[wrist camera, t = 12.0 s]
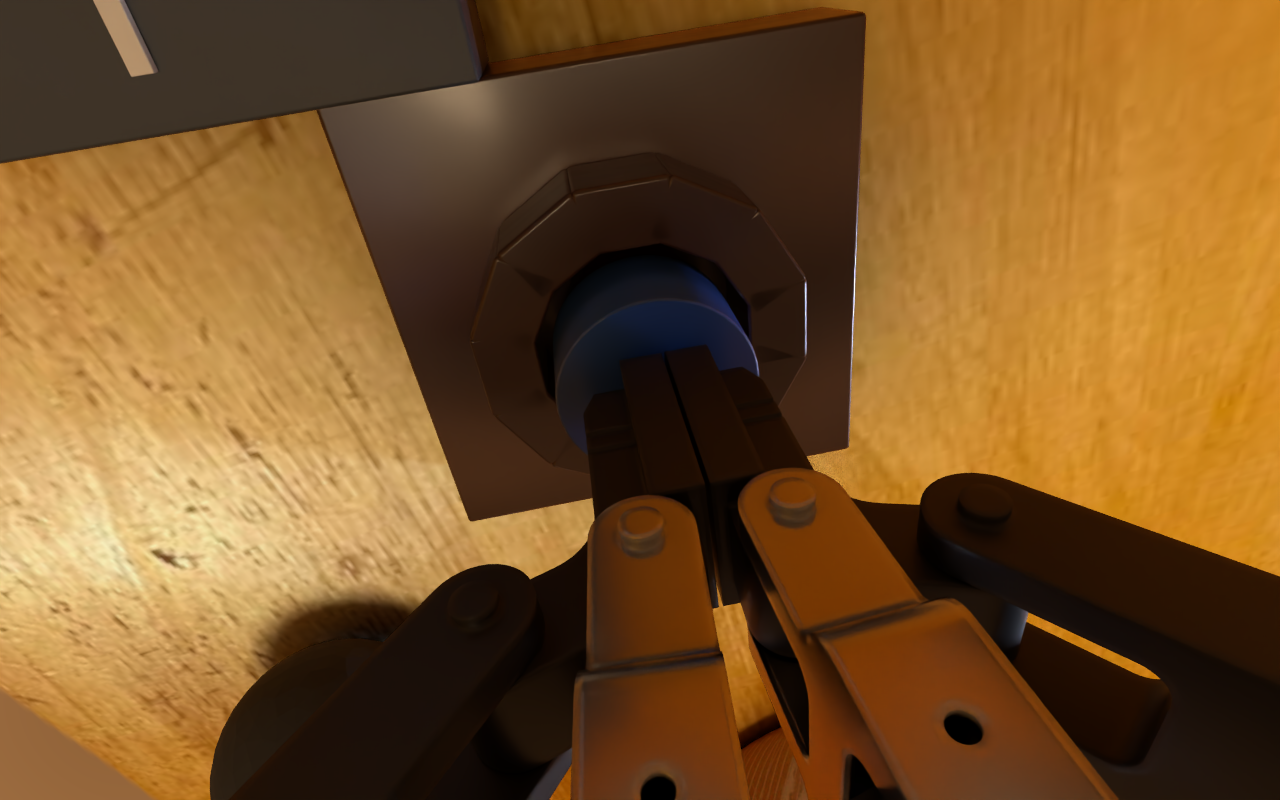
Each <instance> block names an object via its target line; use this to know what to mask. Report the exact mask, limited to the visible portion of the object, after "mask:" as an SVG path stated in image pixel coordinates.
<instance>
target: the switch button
mask: <svg viewBox="0 0 1280 800" xmlns="http://www.w3.org/2000/svg"><path fill="white" fill-rule="evenodd" d="M703 344H706V345H707V346H708V348H709V350H710V352H711V354H712V357H713V359H714V361H715V363H716V365H717V367H718V370H719V371H721V370H726V369H731V368H737V367H744V368H745V369H747V370H748V371H750V372H752V373H753V374H755V375H756V376H758V377H759V368H758V362H757V358H756V355H755V351H754V349H753V347H752V345H751V343H750V341H749V339H748V337H747V335H746V334H745V332H744V330H743V329H742V327H741V325H740V324H739V322H738V320H737V319H736V317H735V315H734V313H733V312H732V310H731V308H730V307H729V305H728V303H727V302H726V300H725V298H724V297H723V295H722V293H721V292H720V290H719V289H718V287H717V286H716V285H715V284H714V283H713V282H712V281H711V279H710V278H709V277H707V276H706V275H705V274H704V273H702V272H701V271H700V270H698V269H696V268H695V267H693V266H692V265H690V264H687V263H685V262H683V261H680V260H677V259H673V258H670V257H664V256H657V255H641V256H633V257H628V258H624V259H619V260H616V261H614V262H611V263H609V264H606V265H604V266H602V267H601V268H599V269H597V270H595V271H594V272H592V273H591V274H589V275H588V276H587V277H585V278H584V279H583V280H582V281H581V282H580V283H579V284H578V285H577V286H576V287H575V288H574V289H573V290H572V291H571V293H570V294H569V295H568V297H567V298H566V300H565V301H564V303H563V305H562V307H561V309H560V311H559V313H558V315H557V319H556V322H555V326H554V332H553V359H554V377H555V396H556V405H557V411H558V414H559V418H560V421H561V423H562V425H563V427H564V429H565V431H566V433H567V434H568V436H569V437H570V438H571V440H572V441H573V442H574V443H575V445H576V446H577V447H578V448H579V449H580V450H581V451H583V452H584V453H585V454H586V455H588V451H587V442H586V433H585V424H584V415H583V414H584V412H585V410H586V408H587V406H588V404H589V403H590V401H591V399H592V397H593V395H594V394H599V393H605V392H610V391H615V390H621V389H624V386H623V381H622V375H621V369H620V363H619V360H624V359H629V358H634V357H640V356H645V355H650V354H656V353H661V354H662V357H663V360H664V352H666V351H671V350H676V349H682V348H687V347H692V346H698V345H703Z"/></svg>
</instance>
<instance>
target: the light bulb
mask: <svg viewBox="0 0 1280 800" xmlns="http://www.w3.org/2000/svg"><path fill="white" fill-rule="evenodd" d="M382 643H383V642H380V641H374V640H368V639H362V638H360V639H338V640H333V641H328V642H324V643H320V644H317V645H313V646H310V647H308V648H306V649H303V650H301V651H299V652H296V653H295V654H293V655H291V656H289V657H287V658H286V659H284V660H283V661H281V662H280V663H278V664H277V665H276V666H274V667H273V668H272V669H270V670H269V671H268V672H266V673H265V674H264V675H262V676H261V677H260V679H259V680H258V681H257V682H256V683H255V684H254V685H253V686H252V687H251V688H250V689H249V690H248V691H247V692H246V694H245V695H244V696H243V698H242V699H241V700H240V702H239V703H238V704H237V706H236V707H235V708H234V710H233V711H232V713H231V715H230V717H229V719H228V721H227V722H226V724H225V726H224V728H223V730H222V733H221V735H220V738H219V741H218V743H217V746H216V749H215V754H214V759H213V764H212V769H211V775H210V797H211V800H229V799H230V798H231V797H232V796H233V795H234V794H235V793H236V791H237V790H238V789H239V788H240V787H241V786H242V785H243V784H244V783H245V782H246V781H247V780H248V779H249V778H250V777H251V776H252V775H253V774H254V773H255V772H256V771H257V770H258V769H259V768H260V767H261V766H262V765H263V764H264V763H265V762H266V761H267V760H268V759H269V758H270V757H271V756H272V755H273V754H274V753H275V752H276V751H277V750H278V749H279V748H280V747H281V746H282V745H283V744H284V743H285V742H286V741H287V740H288V739H289V738H290V737H291V736H292V735H293V734H294V733H295V732H296V731H297V730H298V728H299V727H300V726H301V725H302V724H303V723H304V722H305V721H306V720H307V719H308V718H309V717H310V716H311V715H312V714H313V713H314V712H315V711H316V710H317V709H318V708H319V707H320V706H321V705H322V704H323V703H324V702H325V701H326V700H327V699H328V698H329V697H330V696H331V695H332V694H333V693H334V692H335V691H336V690H337V689H338V688H339V687H340V686H341V685H342V684H343V683H344V682H345V681H346V680H347V679H348V678H349V677H350V676H351V675H352V674H353V673H354V672H355V671H356V670H357V669H358V668H359V667H360V665H361V664H362V663H363V662H364V661H365V660H366V659H367V658H368V657H369V656H370V655H371V654H372V653H373V652H374V651H375V650H376V649H377V648H378V647H379V646H380V645H381V644H382Z"/></svg>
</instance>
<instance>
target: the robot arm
mask: <svg viewBox="0 0 1280 800" xmlns="http://www.w3.org/2000/svg"><path fill="white" fill-rule="evenodd" d="M619 363H620V369H621V375H622V381H623V386H624V389H621V390H615V391H610V392H605V393H599V394H594V395H593V397H592V399H591V401H590V403H589V404H588V406H587V408H586V410H585V412H584V414H583V415H584V424H585V433H586V442H587V451H588V461H589V470H590V479H591V488H592V497H593V506H594V515H595V521H594V522H593V524H592V525H591V528H590V530H589V533H588V540H587V542H586V543H585V545H584V546H583V547H582V548H581V549H580V550H579V551H578V552H577V553H576V554H575V555H574V556H573V557H572V558H570V559H569V560H567V561H566V562H564V563H563V564H561V565H559V566H557V567H555V568H553V569H551V570H549V571H547V572H545V573H543V574H541V575H539V576H536V577H534V578H532V579H529V578H528V576H527V575H526V574H524V573H523V572H522V571H520V570H518V569H516V568H514V567H511V566H507V565H501V564H488V565H481V566H477V567H473V568H470V569H467V570H465V571H462V572H460V573H458V574H456V575H454V576H452V577H451V578H449V579H448V580H446V581H445V582H444V583H442V584H441V585H440V586H439V587H438V588H437V589H435V590H434V591H433V592H432V593H431V594H430V595H429V596H428V597H427V598H426V599H425V600H424V601H423V602H422V603H421V605H420V606H419V607H418V608H417V609H416V610H415V611H414V612H413V613H412V614H411V615H410V616H409V617H408V618H407V619H406V620H405V621H404V622H403V623H402V624H401V625H400V626H399V627H398V628H397V629H396V630H395V631H394V632H393V633H392V634H391V635H390V636H389V637H388V638H387V639H386V640H385V641H384V642H383V643H382V644H381V645H380V646H379V647H378V648H377V649H376V650H375V651H374V652H373V653H372V654H371V655H370V656H369V657H368V658H367V659H366V660H365V661H364V662H363V663H362V664H361V665H360V667H359V668H358V669H357V670H356V671H355V672H354V673H353V674H352V675H351V676H350V677H349V678H348V679H347V680H346V681H345V682H344V683H343V684H342V685H341V686H340V687H339V688H338V689H337V690H336V691H335V692H334V693H333V694H332V695H331V696H330V697H329V698H328V699H327V700H326V701H325V702H324V703H323V704H322V705H321V706H320V707H319V708H318V709H317V710H316V711H315V712H314V713H313V714H312V715H311V716H310V717H309V718H308V719H307V720H306V721H305V722H304V723H303V724H302V725H301V726H300V727H299V728H298V730H297V731H296V732H295V733H294V734H293V735H292V736H291V737H290V738H289V739H288V740H287V741H286V742H285V743H284V744H283V745H282V746H281V747H280V748H279V749H278V750H277V751H276V752H275V753H274V754H273V755H272V756H271V757H270V758H269V759H268V760H267V761H266V762H265V763H264V764H263V765H262V766H261V767H260V768H259V769H258V770H257V771H256V772H255V773H254V774H253V775H252V776H251V777H250V778H249V779H248V780H247V781H246V782H245V783H244V784H243V785H242V786H241V787H240V788H239V789H238V790H237V791H236V793H235V794H234V795H233V796H232V797H231V798H230V799H229V800H549V799H550V797H551V796H552V794H553V793H554V791H555V789H556V788H557V786H558V785H559V783H560V782H561V780H562V778H563V777H564V775H565V774H566V772H567V771H568V769H569V767H570V766H571V764H572V768H571V800H750V795H749V790H748V785H747V779H746V774H745V769H744V763H743V758H742V752H741V747H740V742H739V736H738V731H737V726H736V720H735V715H734V710H733V704H732V699H731V693H730V688H729V683H728V677H727V672H726V667H725V662H724V658H723V654H722V651H720V648H719V643H718V637H717V632H716V626H715V621H714V616H713V608H717V607H719V605H718V596H717V587H718V590H719V593H720V597H721V600H722V603H723V606H726V605H731V604H736V603H741V605H742V608H743V611H744V614H745V617H746V620H747V626H748V639H749V648H750V651H751V654H752V657H753V659H754V662H755V664H756V667H757V669H758V671H759V674H760V676H761V679H762V681H763V684H764V686H765V688H766V691H767V693H768V696H769V698H770V700H771V703H772V705H773V708H774V710H775V713H776V715H777V717H778V720H779V722H780V725H781V727H782V730H783V732H784V734H785V737H786V739H787V742H788V744H789V747H790V749H791V751H792V754H793V756H794V759H795V761H796V763H797V766H798V768H799V771H800V774H801V777H802V780H803V783H804V786H805V789H806V793H807V797H808V800H1280V577H1279V576H1277V575H1274V574H1271V573H1268V572H1265V571H1263V570H1260V569H1257V568H1254V567H1251V566H1249V565H1246V564H1243V563H1240V562H1237V561H1234V560H1232V559H1229V558H1226V557H1223V556H1220V555H1218V554H1215V553H1212V552H1209V551H1206V550H1204V549H1201V548H1198V547H1195V546H1192V545H1190V544H1187V543H1184V542H1181V541H1178V540H1176V539H1173V538H1170V537H1167V536H1164V535H1162V534H1159V533H1156V532H1153V531H1150V530H1147V529H1145V528H1142V527H1139V526H1136V525H1133V524H1131V523H1128V522H1125V521H1122V520H1119V519H1117V518H1114V517H1111V516H1108V515H1105V514H1103V513H1100V512H1097V511H1094V510H1091V509H1089V508H1086V507H1083V506H1080V505H1077V504H1075V503H1072V502H1069V501H1066V500H1063V499H1060V498H1058V497H1055V496H1052V495H1049V494H1046V493H1044V492H1041V491H1038V490H1035V489H1032V488H1030V487H1027V486H1024V485H1021V484H1018V483H1016V482H1013V481H1010V480H1007V479H1004V478H1001V477H997V476H993V475H988V474H980V473H961V474H953V475H949V476H945V477H943V478H940V479H938V480H936V481H935V482H933V483H931V484H930V485H929V486H928V487H927V488H926V489H925V491H924V493H923V494H922V497H921V502H920V505H910V504H886V503H872V502H866V501H861V500H857V499H853V498H850V496H849V495H848V494H847V492H846V491H845V490H844V488H843V487H842V486H841V485H840V484H839V483H838V482H836V481H835V480H834V479H832V478H831V477H829V476H827V475H825V474H823V473H820V472H818V471H814V469H813V468H812V466H811V464H810V462H809V461H808V459H807V457H806V455H805V453H804V452H803V450H802V448H801V446H800V445H799V443H798V441H797V439H796V437H795V436H794V434H793V432H792V430H791V429H790V427H789V425H788V423H787V421H786V420H785V418H784V417H782V413H781V411H780V409H779V407H778V405H777V404H776V402H774V400H773V397H772V395H771V393H770V391H769V390H768V388H767V386H766V384H765V382H764V381H763V379H761V378H759V377H758V376H756V375H755V374H753V373H752V372H750V371H748V370H747V369H745V368H744V367H737V368H731V369H726V370H721V371H719V370H718V367H717V365H716V363H715V361H714V359H713V357H712V354H711V352H710V350H709V348H708V346H707V345H706V344H703V345H698V346H692V347H687V348H682V349H676V350H671V351H666V352H664V360H663V357H662V354H661V353H656V354H650V355H645V356H640V357H634V358H629V359H624V360H619ZM716 583H717V587H716ZM1028 613H1031V614H1033V615H1036V616H1038V617H1040V618H1042V619H1044V620H1046V621H1048V622H1051V623H1053V624H1055V625H1057V626H1059V627H1061V628H1063V629H1066V630H1068V631H1070V632H1072V633H1074V634H1076V635H1078V636H1081V637H1083V638H1085V639H1087V640H1089V641H1091V642H1093V643H1096V644H1098V645H1100V646H1102V647H1104V648H1106V649H1108V650H1111V651H1113V652H1115V653H1117V654H1119V655H1121V656H1123V657H1126V658H1128V659H1130V660H1132V661H1134V662H1136V663H1138V664H1140V665H1142V666H1144V667H1146V668H1147V669H1149V670H1150V671H1152V672H1153V673H1154V674H1156V675H1157V676H1158V677H1159V678H1160V679H1150V678H1146V677H1143V676H1139V675H1137V674H1135V673H1132V672H1130V671H1128V670H1126V669H1124V668H1122V667H1120V666H1118V665H1116V664H1113V663H1111V662H1109V661H1107V660H1105V659H1103V658H1101V657H1099V656H1097V655H1095V654H1092V653H1090V652H1088V651H1086V650H1084V649H1082V648H1080V647H1078V646H1076V645H1074V644H1071V643H1069V642H1067V641H1065V640H1063V639H1061V638H1059V637H1057V636H1055V635H1053V634H1050V633H1048V632H1046V631H1044V630H1042V629H1040V628H1038V627H1036V626H1034V625H1032V624H1029V623H1027V622H1026V620H1027V616H1028Z"/></svg>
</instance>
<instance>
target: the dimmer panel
mask: <svg viewBox="0 0 1280 800" xmlns="http://www.w3.org/2000/svg"><path fill="white" fill-rule="evenodd" d="M488 61H489V58H488V54H487V50H486V46H485V41H484V37H483V33H482V28H481V24H480V20H479V16H478V11H477V7H476V3H475V0H0V163H6V162H12V161H18V160H24V159H30V158H36V157H42V156H48V155H53V154H59V153H65V152H71V151H77V150H83V149H89V148H95V147H101V146H107V145H112V144H118V143H124V142H130V141H136V140H142V139H148V138H154V137H160V136H165V135H171V134H177V133H183V132H189V131H195V130H201V129H207V128H213V127H219V126H224V125H230V124H236V123H242V122H248V121H254V120H260V119H266V118H272V117H277V116H283V115H289V114H295V113H301V112H307V111H313V110H319V109H325V108H331V107H336V106H342V105H348V104H354V103H360V102H366V101H372V100H378V99H384V98H389V97H395V96H401V95H407V94H413V93H419V92H425V91H431V90H437V89H443V88H448V87H454V86H460V85H466V84H472V83H477V82H478V81H479V80H480V78H481V76H482V74H483V72H484V70H485V68H486V66H487V64H488Z"/></svg>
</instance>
